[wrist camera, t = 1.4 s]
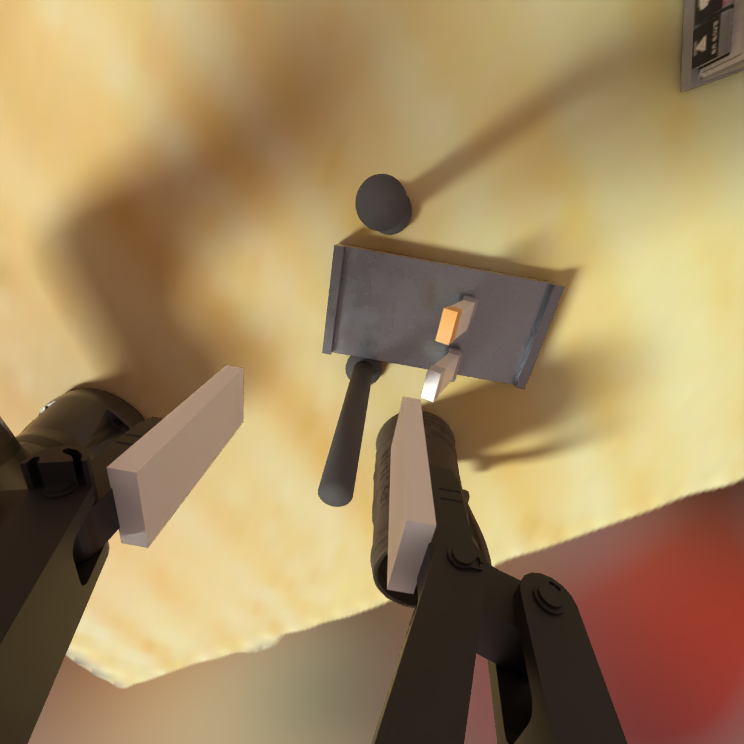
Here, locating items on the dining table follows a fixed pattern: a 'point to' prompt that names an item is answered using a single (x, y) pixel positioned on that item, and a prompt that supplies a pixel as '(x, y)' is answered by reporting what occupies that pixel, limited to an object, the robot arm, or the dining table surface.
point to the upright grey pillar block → (711, 41)
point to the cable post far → (348, 433)
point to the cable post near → (383, 204)
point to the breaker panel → (435, 313)
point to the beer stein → (438, 455)
